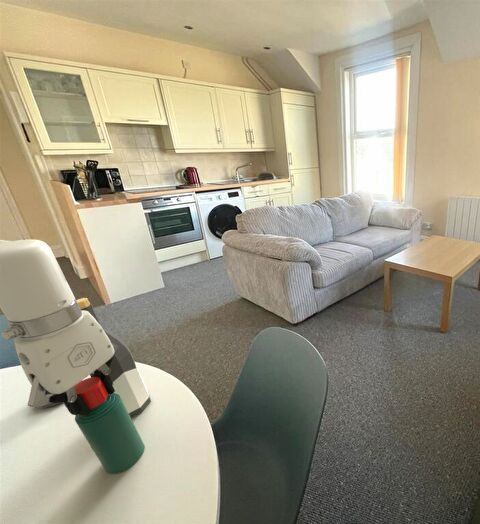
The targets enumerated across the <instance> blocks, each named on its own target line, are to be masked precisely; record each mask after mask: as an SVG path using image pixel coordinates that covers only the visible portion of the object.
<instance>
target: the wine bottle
mask: <svg viewBox="0 0 480 524" xmlns="http://www.w3.org/2000/svg"><path fill="white" fill-rule="evenodd" d="M76 301H77V303H78V305H79V307H80V309H81V311H88V312H89V313H90V314H91V315H92V316H93V317H94V318H95V320H96V321H97V322H98V323H99V324H100V326H101V327H102V329H103V330H104V332H105V333H106V335H107V336H108V338H109V340H110V342H111V343H113V344H115V345H118V349H117V351H116V353H115V355H114V356H113V360H112V362H111V365H110V370H111V371H110V373H109V376H110V378H111V380H112V382H113V385H112V386H113V388H114V390H115V392H114V393H116V394H118V395H119V396H120V397H121V399H122V401H123V403H124V405H125V407H126V409H127V411H128V413H129V415H130V417H131V419H132V418H133V417H135V416H138V415H140V414H141V413H143V412H144V410H145V409H146V408H147V407H148V406H149V404H150V403H151V402H152V399H151V396H150V394H149V391H148V388H147V386H146V384H145V382H144V379H143V377H142V375H141V373H140V370H139V367H138V366H137V363H136V361H135V359H134V357H133V354H132V352H131V350H130V348H129V345H127V344H126V342H125V341H124V340H123V339H122V338H121V337H119V336H118V335H116V334H115V333H113V332H112V331H109V330H107V329H105V328H104V327H103V326H102V324H101V322H100V320H99V318H98V316H97V314H96V311H95V310H94V308H93V304H92V302H90V301H89V298H88V297H81V298H79V299H76ZM92 375H93V373H91V374H90V375H89V377H91V376H92Z"/></svg>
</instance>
